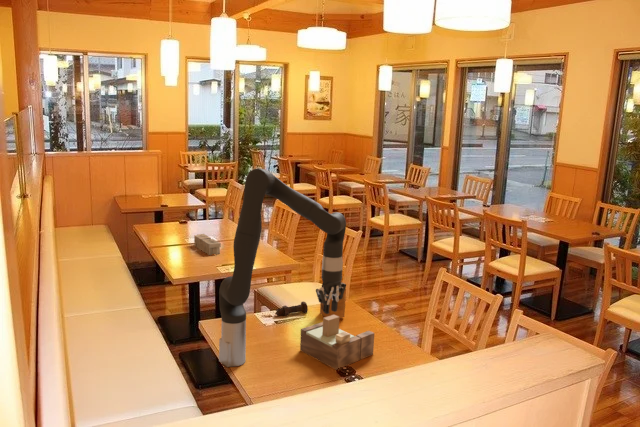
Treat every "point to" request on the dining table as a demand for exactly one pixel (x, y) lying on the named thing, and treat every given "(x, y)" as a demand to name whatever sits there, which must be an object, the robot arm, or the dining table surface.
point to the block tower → (207, 244)
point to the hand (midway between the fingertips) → (330, 311)
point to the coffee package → (340, 307)
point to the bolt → (292, 309)
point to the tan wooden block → (343, 337)
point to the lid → (327, 331)
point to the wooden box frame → (337, 348)
